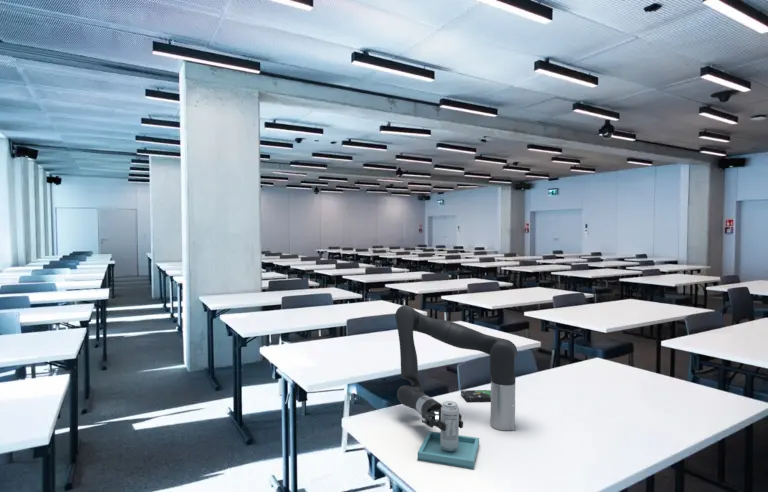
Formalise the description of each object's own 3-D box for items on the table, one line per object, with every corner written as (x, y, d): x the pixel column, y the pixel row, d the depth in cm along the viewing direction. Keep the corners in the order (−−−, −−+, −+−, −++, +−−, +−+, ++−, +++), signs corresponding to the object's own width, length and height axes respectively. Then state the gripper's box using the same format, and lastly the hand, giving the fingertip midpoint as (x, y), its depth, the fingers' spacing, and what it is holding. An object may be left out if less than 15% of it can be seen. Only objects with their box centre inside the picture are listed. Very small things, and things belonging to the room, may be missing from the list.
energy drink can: (459, 445, 154) (460, 401, 154) (456, 452, 149) (457, 407, 148) (442, 442, 156) (443, 399, 156) (438, 449, 151) (439, 405, 150)
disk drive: (466, 404, 201) (498, 402, 203) (466, 397, 201) (498, 396, 202) (460, 396, 211) (490, 395, 213) (460, 390, 211) (490, 389, 213)
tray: (479, 445, 158) (479, 438, 158) (473, 469, 141) (473, 461, 141) (428, 437, 164) (429, 430, 164) (417, 460, 146) (417, 452, 146)
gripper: (412, 401, 163) (434, 418, 147) (446, 396, 168) (472, 412, 153) (412, 421, 163) (434, 441, 147) (446, 416, 168) (471, 434, 153)
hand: (453, 426), depth 150 cm, fingers closed on energy drink can, 6 cm apart
